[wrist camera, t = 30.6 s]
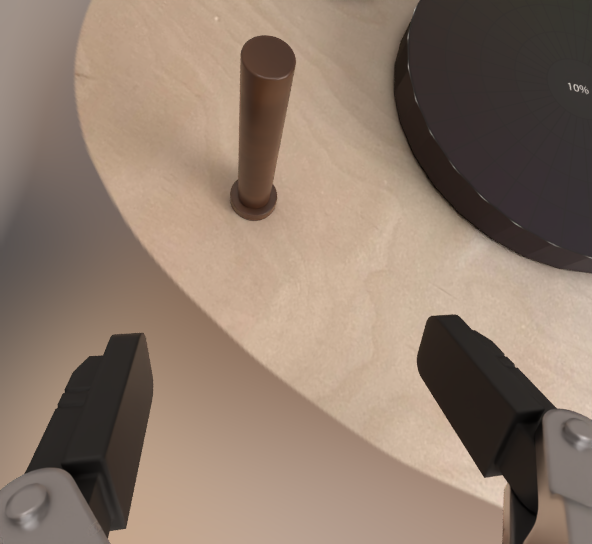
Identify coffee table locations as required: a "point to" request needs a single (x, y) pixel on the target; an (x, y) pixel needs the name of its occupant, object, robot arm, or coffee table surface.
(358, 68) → the coffee table surface
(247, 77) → the stick
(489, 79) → the disc
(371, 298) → the coffee table surface
